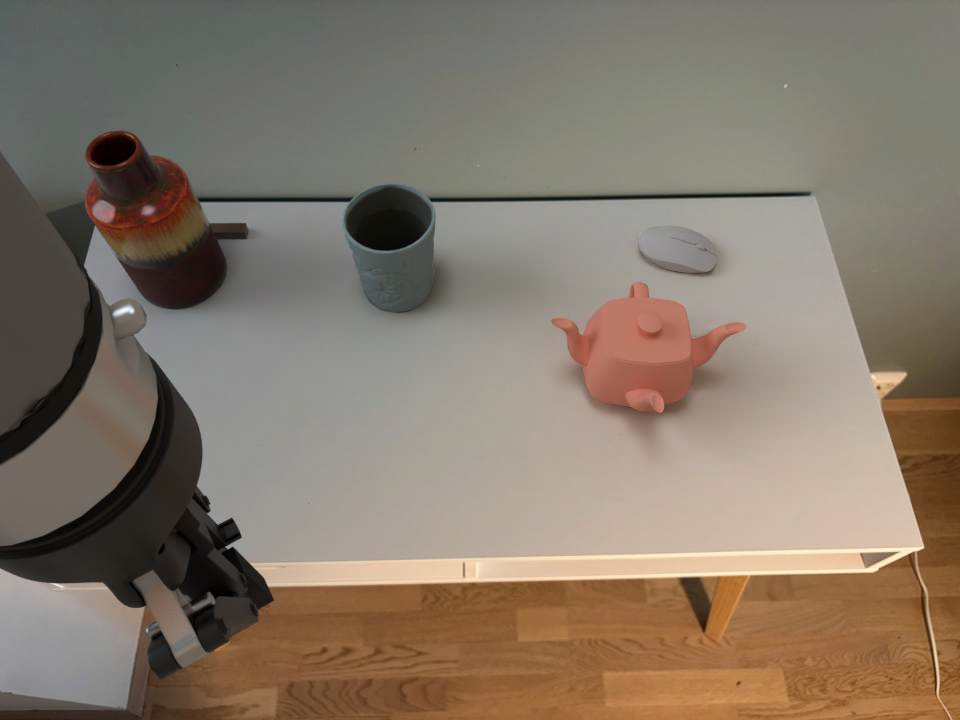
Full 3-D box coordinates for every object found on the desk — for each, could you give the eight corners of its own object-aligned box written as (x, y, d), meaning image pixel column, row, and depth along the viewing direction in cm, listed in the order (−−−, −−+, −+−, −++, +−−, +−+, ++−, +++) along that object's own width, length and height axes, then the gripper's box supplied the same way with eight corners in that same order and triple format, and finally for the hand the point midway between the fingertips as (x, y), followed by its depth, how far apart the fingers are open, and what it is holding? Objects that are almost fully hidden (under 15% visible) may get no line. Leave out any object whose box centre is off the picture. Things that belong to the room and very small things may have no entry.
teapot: (718, 374, 84) (750, 322, 74) (638, 455, 79) (662, 410, 69) (621, 299, 89) (640, 241, 79) (540, 370, 84) (550, 317, 74)
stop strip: (248, 228, 94) (245, 222, 93) (246, 238, 93) (244, 232, 92) (138, 229, 93) (134, 223, 92) (135, 239, 93) (131, 233, 92)
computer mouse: (713, 280, 90) (720, 265, 88) (633, 265, 91) (638, 250, 89) (716, 243, 93) (723, 228, 91) (638, 230, 94) (643, 214, 92)
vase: (138, 245, 92) (60, 118, 74) (226, 233, 93) (169, 104, 76) (136, 316, 87) (51, 196, 69) (228, 301, 88) (168, 180, 70)
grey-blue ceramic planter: (363, 323, 87) (349, 260, 76) (351, 257, 92) (335, 189, 81) (447, 307, 88) (444, 243, 78) (430, 243, 93) (425, 174, 82)
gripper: (239, 550, 20) (356, 670, 40) (98, 230, 25) (264, 477, 46) (-51, 707, 18) (227, 749, 38) (-136, 322, 23) (146, 538, 44)
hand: (247, 601), depth 42 cm, fingers closed
